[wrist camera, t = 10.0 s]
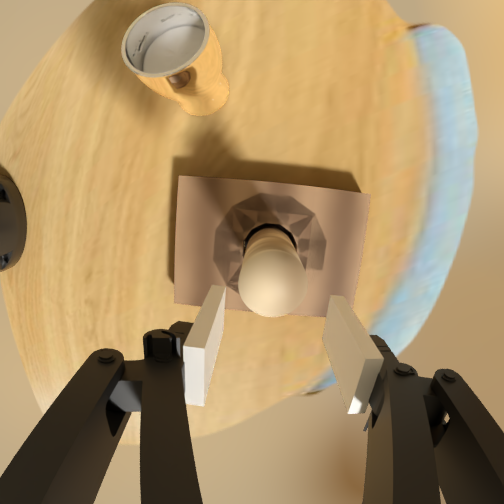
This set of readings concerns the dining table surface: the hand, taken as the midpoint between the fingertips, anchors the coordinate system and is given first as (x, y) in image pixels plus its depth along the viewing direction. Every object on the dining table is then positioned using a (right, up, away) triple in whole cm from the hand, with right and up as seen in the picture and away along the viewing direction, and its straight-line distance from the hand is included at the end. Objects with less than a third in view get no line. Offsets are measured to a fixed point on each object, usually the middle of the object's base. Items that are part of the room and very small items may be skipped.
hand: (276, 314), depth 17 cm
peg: (+1, +4, +18) cm, 19 cm away
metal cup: (-7, +22, +15) cm, 27 cm away
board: (+1, +4, +18) cm, 19 cm away
